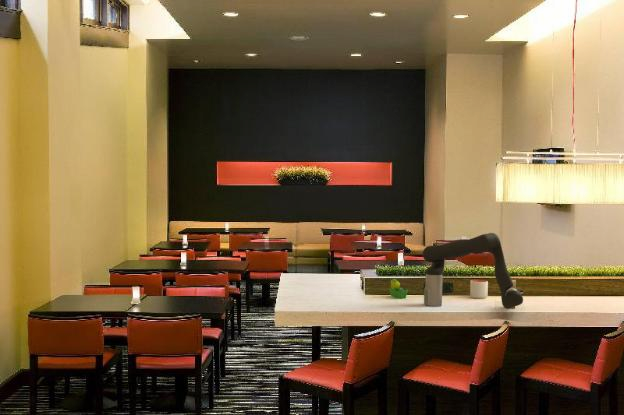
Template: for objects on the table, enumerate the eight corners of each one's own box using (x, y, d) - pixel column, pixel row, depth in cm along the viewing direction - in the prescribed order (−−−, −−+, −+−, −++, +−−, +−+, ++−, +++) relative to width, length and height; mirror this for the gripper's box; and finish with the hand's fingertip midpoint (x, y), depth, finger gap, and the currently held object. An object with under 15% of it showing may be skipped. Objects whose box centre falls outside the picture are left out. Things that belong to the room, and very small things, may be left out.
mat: (525, 310, 440) (525, 309, 440) (494, 309, 444) (494, 308, 444) (523, 303, 464) (523, 302, 464) (494, 302, 467) (494, 301, 467)
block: (515, 308, 443) (515, 281, 443) (505, 308, 444) (506, 280, 444) (514, 307, 448) (515, 280, 447) (505, 306, 449) (506, 279, 449)
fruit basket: (408, 298, 475) (409, 279, 474) (395, 299, 472) (395, 280, 471) (399, 295, 485) (400, 276, 485) (386, 296, 482) (386, 277, 481)
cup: (482, 299, 475) (483, 282, 474) (467, 297, 481) (467, 280, 481) (490, 297, 483) (490, 280, 482) (474, 295, 489) (475, 279, 488)
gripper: (524, 288, 424) (523, 283, 441) (498, 287, 427) (498, 282, 444) (524, 302, 424) (523, 297, 441) (498, 301, 427) (498, 296, 444)
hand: (510, 289), depth 443 cm, fingers closed
